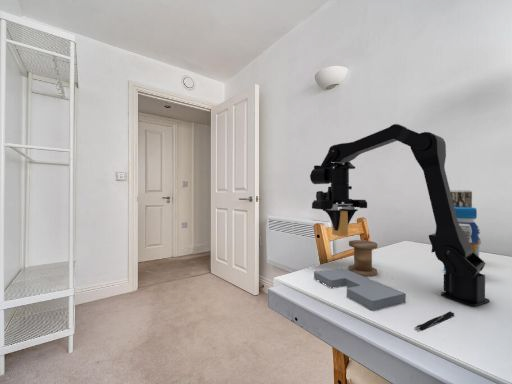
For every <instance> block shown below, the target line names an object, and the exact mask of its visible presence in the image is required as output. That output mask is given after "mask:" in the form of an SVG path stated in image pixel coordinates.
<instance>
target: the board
mask: <svg viewBox="0 0 512 384" xmlns="http://www.w3.org/2000/svg"><path fill="white" fill-rule="evenodd" d="M314 278H315V279H317V280H319V281H320V282H319V281H318V282H319V283H321V282H322V283H321V284H323V283H324V284H326V285H327V287H328V286H329V287H328V288H330V287H331V288H330V289H334V288H333V287H336V288H340V287H339V286H341V287H346V286H347V287H346V298H348V297H349V298H348V299H350V300H352V301H354V302H355V303H357V304H359V305H361V306H362V307H364V308H367V309H368V310H370V311H372V312H373V311H377V310H381V309H385V308H389V307H392V306H393V307H394V306H395V305H396V306H397V305H401V304H405V303H406V300H407V299H406V297H407V295H406V293H405V292H404V291H401V290H398V289H396V288H393V287H391V286H388V285H386V284H383V283H381V282H379V281H376V280H374V279H371V278H369V277H364V276H362V275H359V274H357V273H354V272H352V271H349V269H346V268H344V267H338V268H329V269H323V270H316V271H314V272H313V279H314ZM315 279H314V280H315ZM317 280H316V281H317ZM324 284H323V285H324ZM326 285H325V286H326ZM348 287H349V288H348Z"/></svg>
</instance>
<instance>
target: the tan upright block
mask: <svg viewBox="0 0 512 384" xmlns="http://www.w3.org/2000/svg"><path fill="white" fill-rule="evenodd" d="M331 224H332V223H331ZM348 227H349V224H348V211H341V213H340V220H339V227H338V231H335V230H334V227H333V224H332V235H334V236H338V237H347V236H348V235H349V230H348V229H349V228H348Z"/></svg>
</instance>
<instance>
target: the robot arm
mask: <svg viewBox="0 0 512 384" xmlns="http://www.w3.org/2000/svg"><path fill="white" fill-rule="evenodd" d="M395 142H400V143H401V144H404V145H406V146H408V147H410V149H411V153H412V154H413V156H414V159H415V161H416V163H418V165H419V166H420V168H421V170H422V172H423V176H424V180H425V184H426V187H427V188H426V189H427V192H428V196H429V200H430V201H429V202H430V205H431V209H432V213H433V216H434V218H433V219H434V221H435V232H434V233H432V234H429V235H428V239H429V242H430V244H431V253H434V255H435V256H436V258H437V261H440V262H441V263H442V265H443V268H444V267H445V269H446V273H444V274H443V292H441V296H442V297H445V298H448V299H451V300H454V301H456V302H460V303H462V304H465V305H467V306H470V307H477V306H480V305H483V304H487V303H490V299H489V298H487V297H486V274H482V273H479V272H482V271H483V269H484V268H485V266H486V262H485V261H484V260H483V258H481V257H480V256H479V257H478V256H477V255H476V254H475V253H474V252H473V249H472V246H471V244H470V242H469V240H468V238H467V236H466V234H465V233H464V231H463V230H462V228H461V227H460V225H459V223H458V220H457V216H456V212H455V208H454V204H453V200H452V196H451V192H450V191H451V190H450V186H449V181H448V177H447V173H446V168H445V165H446V157H447V149H446V148H447V147H446V146H447V145H446V141H445V139H444V138H443V137H441V136H439V135H436V134H435V133H432V132H429V131H424V132H420V133H419V132H416V131H414V130H412V129H409V128H407V127H406V126H404V125H401V124H399V123H395V124H391V125H390V126H389V127H386V128H384V129H381V130H379V131H376V132H374V133H372V134H370V135H366V136H364V137H362V138H360V139H356V140H355V141H350V142H341V143H338V144H333V145H331V146H330V147H329V149H328V151H327V153H326V156H325V157H324V159H323V160H322V163H321V164H320V165H313V169H312V170H311V172H310V174H309V179H310V181H311V183H312V184H313V185H326V184H327V185H328V184H330V186H328V187H327V191H325V192H324V191H323V190H319V191H318V190H317V191H316V192H315V199H316V200H315V199H314V200H313V201H312V203H311V209H312V210H313V209H314V210H322V211H323V212H325V213H326V214H327V215H328V217H329V218H330V219H329V220H330V221H331V224H333V227H334V230H335V231H338V227H339V220H340V213H341V211H348V225H349V224H350V222H351V220H352V219H353V217H354V215H355V214H356V212H358V210H359V209H368V201H367V200H366V199H354V198H353V199H352V198H350V190H352V185H350V171H349V170H355V169H356V166H355V165H353V164H352V163H351V161H353V160H355V159H356V158H357V157H358V156H359V155H361V154H364V153H367V152H370V151H373V150H375V149H378V148H381V147H384V146H387V145H389V144H392V143H395ZM357 208H359V209H357Z"/></svg>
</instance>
